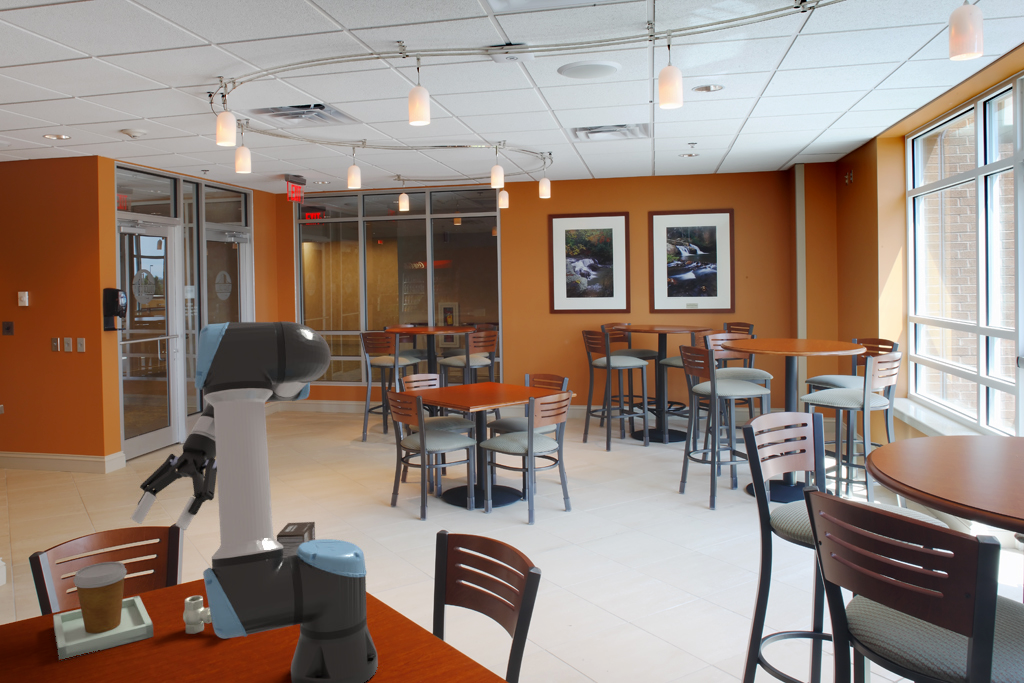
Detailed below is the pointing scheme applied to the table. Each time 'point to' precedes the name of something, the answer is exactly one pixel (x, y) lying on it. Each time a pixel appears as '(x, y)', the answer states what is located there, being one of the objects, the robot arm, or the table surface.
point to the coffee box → (295, 536)
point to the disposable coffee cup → (101, 595)
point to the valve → (195, 614)
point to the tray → (79, 641)
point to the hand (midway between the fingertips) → (157, 524)
